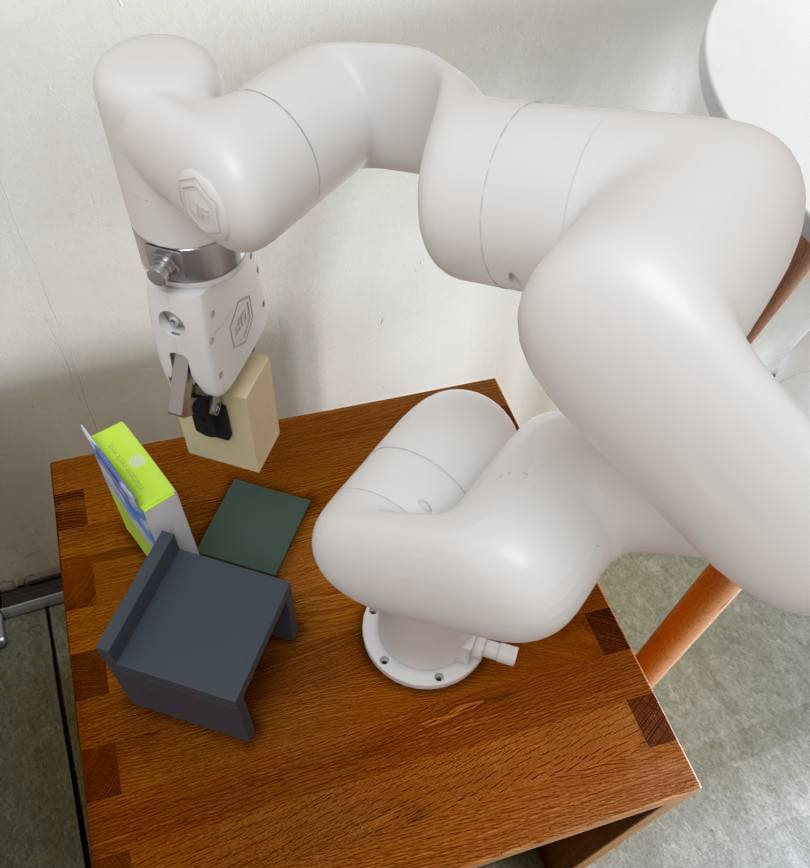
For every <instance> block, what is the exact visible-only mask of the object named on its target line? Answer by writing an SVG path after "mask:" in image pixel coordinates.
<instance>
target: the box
mask: <svg viewBox="0 0 810 868" xmlns="http://www.w3.org/2000/svg"><path fill="white" fill-rule="evenodd" d="M79 428H80V429H81V431H82V433H83V435H84V437H85V438H86V439H87V442H88V444H89V445H90V448H91V450H92V452H93V455H94V457H95V459H96V461H97V463H98V466H99V468H100V470H101V473H102V475H103V478H104V480H105V482H106V484H107V487H108V489H109V491H110V493H111V496H112V499H113V501H114V504H115V505H116V508H117V510H118V512H119V514H120V517H121V519H122V521H123V524H124V526H125V528H126V530H127V531H128V533H130V535H131V536H132V538H133V539H134V540H135V541H136V543H137V545H139V547H140V549H141V550H142V552H143V553H144V554H145V556H146V557H147V556H148V554H149V552H150V551H151V549H152V547H153V545H154V544H155V542H156V540H157V538H158V537H159V535H160V533H161V531H162V530H163V531H166V532H169V533H173V534H174V535H175V538H176V540H177V543H178V546H179V549H181V550H185V551H188V552H191V553H195V554H198V555H200V554H199V552H198V549H197V547H198V546H197V544H196V541H195V538H194V535H193V533H192V530H191V527H190V524H189V522H188V521H189V520H188V519H187V516H186V513H185V511H184V508H183V505H182V503H181V500H180V496H179V493H178V491H177V490H176V488H175V487H174V486H173V484H172V483H171V481H170V480H169V479H168V478H167V477H166V475H165V473H164V472H163V471H162V470H161V468H160V467H159V466H158V464H157V463H156V461H154V459H153V458H152V457H151V455H150V454H149V452H148V451H147V450H146V448H145V447H144V446H143V445H142V443H141V442H140V441H139V439H138V438H137V437H136V436H135V434H134V433H133V432H132V430H131V429H130V428H129V427H128V426H127V425H126V423H124V422H123V421H122V420H121V421H119V422H117V423H115V424H113V425H111V426H109V427H108V428H105V429H103V430H101V431H99V432H96V433H95V434H93V435H91V434H90V433H89V432H88V431H87V429H86V428H85V426H84V425H83V424H79Z"/></svg>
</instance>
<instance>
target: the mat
mask: <svg viewBox="0 0 810 868" xmlns="http://www.w3.org/2000/svg"><path fill="white" fill-rule="evenodd" d="M310 504H311V500H310V499H307V498H303V497H300V496H296V495H292V494H290V493H285V492H283V491H278V490H275V489H271V488H268V487H264V486H261V485H257V484H254V483H252V482H251V483H250V482H247V481H243V480H240V479H236V478H233V481H232V483H231V484H230V486H229V488H228V490H227V492H226V493H225V495H224V497H223V499H222V501H221V502H220V505H219V507H218V508H217V510H216V512H215V514H214V515H213V518H212V519H211V521H210V523H209V525H208V527H207V528H206V531H205V533H204V534H203V536H202V538H201V540H200V542H199V544H198V546H197V549H198V552H199V555H201V556H205V557H208V558H211V559H215V560H218V561H221V562H225V563H228V564H231V565H235V566H238V567H241V568H245V569H248V570H251V571H255V572H258V573H261V574H265V575H268V576H271V577H275V578H277V576H278V573H279V571H280V570H281V566H282V565H283V563H284V560H285V559H286V556H287V554H288V552H289V549H290V547H291V546H292V543H293V541H294V539H295V536H296V535H297V532H298V530H299V528H300V526H301V524H302V522H303V519H304V518H305V515H306V513H307V511H308V509H309V506H310Z"/></svg>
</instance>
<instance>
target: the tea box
mask: <svg viewBox="0 0 810 868" xmlns="http://www.w3.org/2000/svg"><path fill="white" fill-rule="evenodd" d="M167 382H168V386H169V388H170V387H171V383H170V382H169V381H168V380H167ZM273 382H274V381H273V375H272V366H271V359H270V356H268V355H265V354H260V353H258V352H257V353H256V352H254V353H253V352H251V354H250V356H249V357H248V359H247V361H246V362H245V364H244V366H243V368H242V369H241V371H240V373H239V374H238V376H237V378H236V379H235V381H234V382H233V384H232V385H231V387H230V388H229V389H228V390H227V391H226V392H225V393H224V394H223V395H221V404H223V405H225V406H226V408H227V412H228V417H229V422H230V426H231V431H232V436H231V438H230V440H224V439H220V438H217V437H213V438H212V437H208V436H205V435H203V434H201V433H199V432H198V431H196V429H195V425H194V422H193V418H192V416H189V417H186V418H181V417H178V420H179V423H180V427H181V431H182V434H183V437H184V441H185V444H186V447H187V451H188V453H189V454H191V455H195V456H197V457H202V458H206V459H209V460H212V461H216V462H220V463H223V464H226V465H229V466H234V467H237V468H241V469H243V470H248V471H250V472H251V471H252V472H254V473H260V472H261V470H262V468H263V466H264V464H265V462H266V461H267V459H268V457H269V455H270V453H271V452H272V449H273V447H274V445H275V443H276V441H277V439H278V437H279V436H280V433H281V431H280V425H279V417H278V410H277V403H276V395H275V388H274V383H273ZM196 394H199V395H203V396H207V397H208V395H207V394H206V393H204V392H203V391H202V389H201V388H200V387H199V386H197V385H196Z"/></svg>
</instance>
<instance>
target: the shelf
mask: <svg viewBox="0 0 810 868" xmlns="http://www.w3.org/2000/svg"><path fill="white" fill-rule="evenodd" d="M291 586H292V585H291V582H290V581H288V580H285V579H281V578H278V577H274V576H270V575H267V574H264V573H260V572H257V571H253V570H250V569H247V568H243V567H240V566H237V565H233V564H230V563H227V562H223V561H220V560H217V559H213V558H210V557H207V556H203V555H200V554H199V555H198V554H195V553H191V552H188V551H185V550H181V549H179V546H178V543H177V540H176V538H175V535H174V534H173V533H169V532H166V531H163V530H162V531H161V533H160V535H159V537H158V538H157V540H156V542H155V544H154V545H153V547H152V549H151V551H150V552H149V554H148V556H146V557H145V559H144V561H143V562H142V565H141V566H140V568H139V569H138V572H137V573H136V574H135V576H134V579H133V580H132V582H131V583H130V585H129V587H128V589H127V591H126V592H125V594H124V596H123V598H122V599H121V601H120V602H119V605H118V607H117V608H116V610H115V611H114V614H113V615H112V617H111V619H110V620H109V622H108V624H107V625H106V627H105V629H104V631H103V632H102V634H101V635H100V638H99V640H98V641H97V643H96V645H95V649H96V650H97V652H98V654H99V655H100V656H101V658H102V660H104V662H105V664H106V665H107V667H108V668H109V670H110V672H111V673H112V675H113V676H114V678H115V679H116V681H117V682H118V684H119V685H120V687H121V688H122V690H123V691H124V693H125V694H126V696H127V697H128V699H129V700H130V702H131V704H132V705H135V706H138V707H142V708H145V709H147V710H150V711H153V712H157V713H160V714H163V715H166V716H169V717H172V718H175V719H178V720H180V721H184V722H187V723H189V724H194V725H197V726H200V727H203V728H205V729H208V730H211V731H215V732H218V733H221V734H224V735H227V736H228V737H229V736H230V737H233V738H236V739H239V740H242V741H245V742H248V743H251V742H252V741H253V737H254V735H255V733H256V728H255V725H254V723H253V720H252V717H251V714H250V712H249V709H248V706H247V702H246V699H245V697H244V696H245V694H246V692H247V689H248V688H249V685H250V683H251V681H252V678H253V676H254V675H255V672H256V669H257V667H258V665H259V662H260V661H261V659H262V656H263V654H264V651H265V650H266V647H267V646H268V643H269V641H270V638H271V636H276V637H278V638H282V639H286V640H288V641H292V642H295V640H296V637H297V635H298V633H299V627H298V621H297V615H296V610H295V609H296V608H295V604H294V603H295V602H294V598H293V591H292V587H291Z"/></svg>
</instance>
